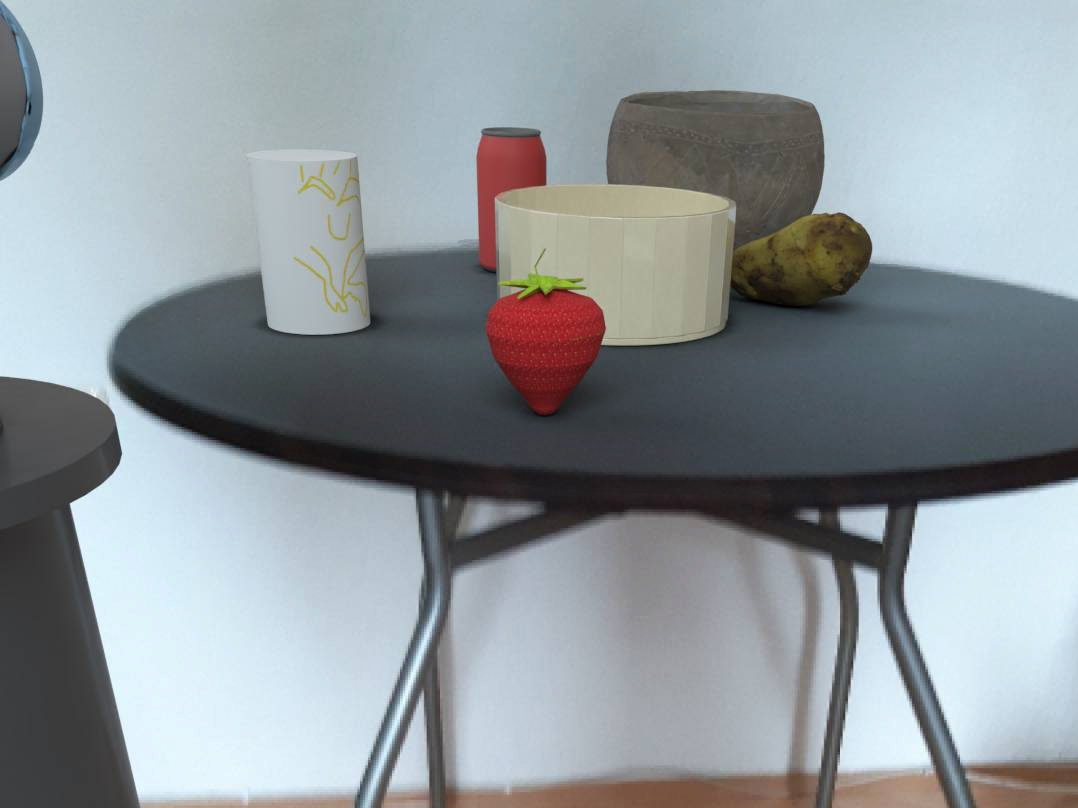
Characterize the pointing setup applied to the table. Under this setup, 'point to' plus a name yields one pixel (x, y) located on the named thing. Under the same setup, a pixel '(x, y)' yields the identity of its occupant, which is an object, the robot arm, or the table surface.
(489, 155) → the beer can
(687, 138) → the bowl
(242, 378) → the table surface
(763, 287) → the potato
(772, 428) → the table surface
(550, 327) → the strawberry
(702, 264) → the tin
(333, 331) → the cup
